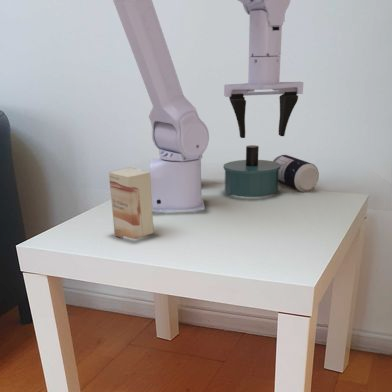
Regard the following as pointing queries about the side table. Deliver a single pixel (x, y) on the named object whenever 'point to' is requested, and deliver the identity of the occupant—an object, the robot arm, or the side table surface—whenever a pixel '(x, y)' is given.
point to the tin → (251, 184)
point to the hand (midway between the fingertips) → (262, 136)
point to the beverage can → (297, 173)
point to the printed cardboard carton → (131, 202)
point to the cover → (252, 163)
